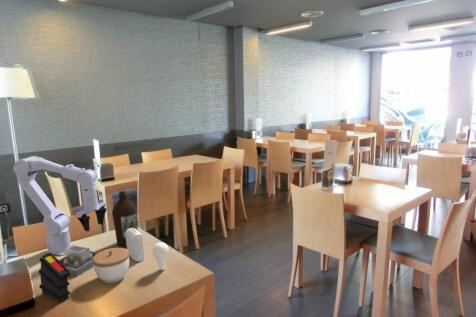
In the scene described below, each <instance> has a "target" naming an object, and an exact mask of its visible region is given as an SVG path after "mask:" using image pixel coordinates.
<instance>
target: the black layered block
mask: <svg viewBox="0 0 476 317" xmlns="http://www.w3.org/2000/svg"><path fill="white" fill-rule="evenodd" d="M59 260H60V259H58V258H57V257H56V256H55V254H52V253H45V254H44V255H41V257H40V258H39V261H40V269H39V270H38V274H39V275H40V284H39V289H41V293H42V295H44V296H46V297H48V298H49V299H52V300H54V301H57V302H59V303H62V302H65V300H67V299H69V298H70V297H69V295H70V294H71V291H69V287H68V286H70V282H69V281H68V280H69V277H70V276H72V275H71V274H70V273H69V270H68V269H67V268H66V267H65V266H64V265H63V264H62V263H61V262H60V261H59Z"/></svg>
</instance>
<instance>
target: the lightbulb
mask: <svg viewBox="0 0 476 317" xmlns="http://www.w3.org/2000/svg"><path fill="white" fill-rule="evenodd" d="M169 252H170V249H169V246H168V244H166V243H165V242H157V243H156V244H155V245H154V246H153V247H152V255H153V257H154V258H155V260H156V262H157V266H158V270H160V271H163V270H165V269H166V263H167V257H168V255H169Z"/></svg>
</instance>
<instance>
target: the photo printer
mask: <svg viewBox="0 0 476 317" xmlns="http://www.w3.org/2000/svg"><path fill="white" fill-rule="evenodd" d="M125 235H126V244H127V247H126V249H127V250H128V251H129V258H131V259H132V260H133V261H134V262H142V261H143V260H144V259H145V251H144V242H143V236H142V234H141V232H140V231H139V230H138V231H137V230H136V229H134V228H130V229H127V230H126V232H125Z"/></svg>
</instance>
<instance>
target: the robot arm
mask: <svg viewBox="0 0 476 317" xmlns="http://www.w3.org/2000/svg"><path fill="white" fill-rule="evenodd" d="M12 170H13V172H14V173H15V174H16V178H17V182H18V185H19V186H20V187H21V188H22V189H23V190H24V192H25V193H26V195H27V197H29V199H30V200H31V202H32V203H33V204H34V205H35V206H36V209H38V210H39V212H40V213H41V214H42V216H43V221H42V222H43V225H44V226H45V230H46V231H47V234H46V235H45V236H46V237H45V239H46V246H47V250H46V251H45V253H46V254H48V253H52V254H53V255H57V256H63V255H66V254H65V249H66V248H68V247H70V246H72V242H71V236H70V227H69V226H70V225H71V221H72V220H71V217H70V216H69V215H68V214H66V213H65V212H64V211H63V210H61V209H58V208H57V207H55V205H54V203H53V202H52V201H51V200H50V199H49V197H48V195H46V193H45V192H44V191H43V189H42V188H41V186H40V185H39V184H38V182H37V181H36V175H37V173H39V171H40V170H44V171H48V172H53V173H57V174H61V176H62V178H64V179H68V180H72V181H75V182H78V184H79V185H80V187H81V195H82V203H83V208H82V209H81V210H79V211H77V212H76V213H75V216H76V219H77V220H78V221H79V223H81V225H82V228H83V230H84V232H90V229H91V228H90V218H91V216H90V215H88V214H90V213H92V212H95V213H94V214H95V215H96V219H97V224H98V225H99V226H100V225H101V226H102V225H103V224H104V218H105V215H106V212H107V204H106V202H103V201H102V202H99V199H98V192H97V185H96V180H97V178H98V174H97V173H96V171H95V170H93V169H91V168H87V169H86V168H84V167H81V168H80V167H77V166H75V165H74V164H72V163H69V164H66V165H62V164H58V163H56V162H53V161H51V160H48V159H45V158H43V157H40V156H37V155H31V156H29V157H26V158H22V159H21V158H20V159H17V160H16V161H15V163H14V166H13V168H12Z"/></svg>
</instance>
